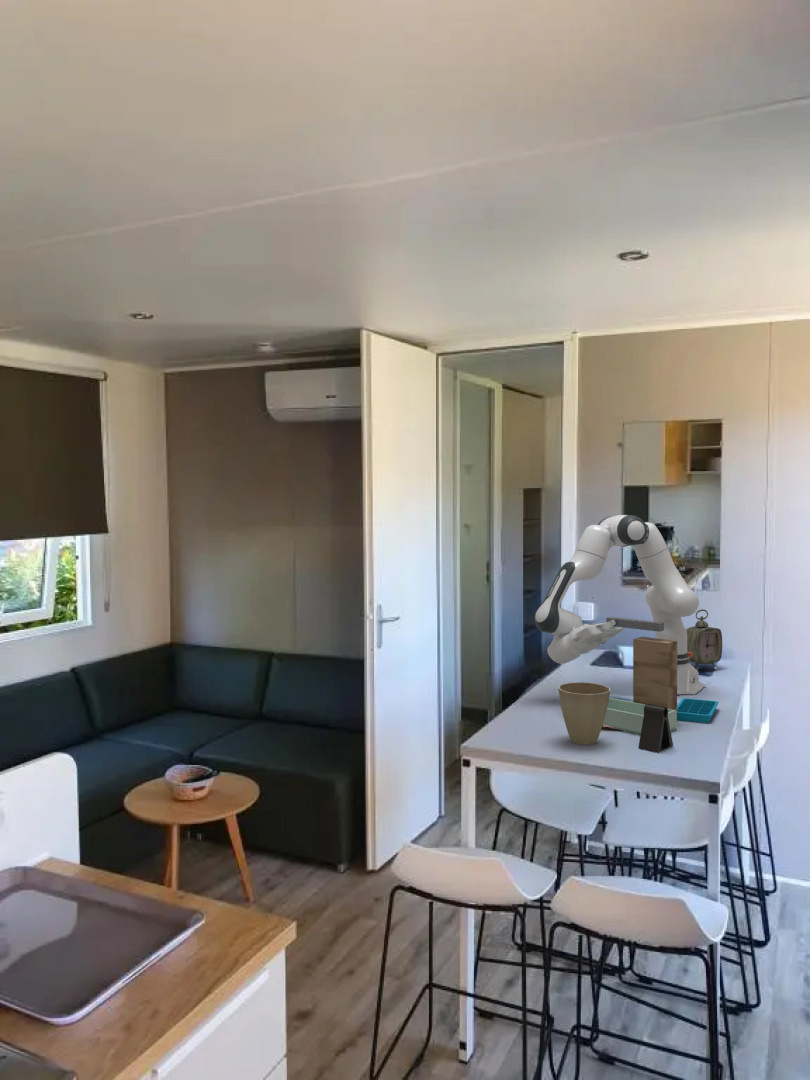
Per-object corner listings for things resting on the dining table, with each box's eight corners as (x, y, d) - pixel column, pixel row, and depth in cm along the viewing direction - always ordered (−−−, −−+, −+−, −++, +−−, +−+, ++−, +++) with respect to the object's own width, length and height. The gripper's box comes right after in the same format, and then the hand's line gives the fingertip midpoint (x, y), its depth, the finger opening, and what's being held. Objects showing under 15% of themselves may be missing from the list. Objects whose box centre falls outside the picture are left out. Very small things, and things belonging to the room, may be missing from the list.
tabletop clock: (697, 674, 332) (697, 612, 331) (679, 670, 340) (679, 609, 339) (722, 670, 339) (722, 609, 338) (704, 666, 347) (704, 606, 346)
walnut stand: (642, 715, 272) (642, 636, 271) (677, 722, 264) (677, 640, 262) (633, 719, 268) (633, 639, 266) (667, 726, 259) (667, 643, 258)
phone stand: (657, 753, 233) (657, 710, 232) (638, 748, 237) (638, 707, 237) (673, 746, 239) (673, 704, 239) (654, 741, 243) (654, 701, 243)
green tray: (598, 713, 275) (598, 695, 275) (676, 729, 255) (676, 710, 255) (576, 721, 266) (576, 702, 266) (655, 738, 247) (655, 718, 246)
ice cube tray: (719, 710, 279) (719, 701, 279) (710, 725, 261) (710, 715, 261) (682, 706, 284) (682, 697, 284) (672, 721, 266) (672, 711, 266)
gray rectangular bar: (611, 624, 277) (611, 616, 277) (664, 630, 264) (664, 622, 263) (606, 625, 275) (606, 617, 275) (659, 631, 261) (659, 623, 261)
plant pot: (562, 749, 238) (561, 693, 237) (555, 734, 253) (555, 682, 252) (615, 749, 237) (615, 693, 236) (605, 734, 252) (605, 682, 251)
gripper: (565, 633, 276) (597, 615, 267) (599, 625, 290) (630, 609, 281) (574, 650, 274) (605, 633, 265) (607, 642, 288) (638, 626, 279)
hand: (618, 620), depth 273 cm, fingers closed on gray rectangular bar, 3 cm apart
